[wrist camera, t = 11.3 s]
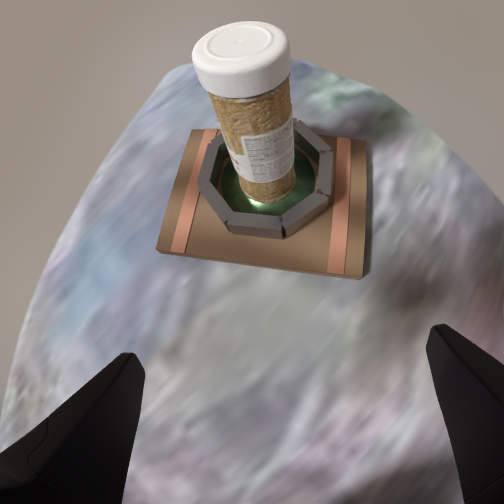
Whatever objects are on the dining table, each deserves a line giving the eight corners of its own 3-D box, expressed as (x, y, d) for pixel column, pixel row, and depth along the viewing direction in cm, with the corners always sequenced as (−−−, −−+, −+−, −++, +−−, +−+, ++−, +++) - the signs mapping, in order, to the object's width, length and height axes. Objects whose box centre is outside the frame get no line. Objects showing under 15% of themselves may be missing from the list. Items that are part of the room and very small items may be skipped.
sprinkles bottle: (235, 165, 25) (186, 32, 12) (288, 152, 24) (274, 11, 12) (246, 212, 23) (192, 80, 11) (304, 198, 23) (303, 55, 10)
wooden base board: (359, 279, 22) (362, 276, 21) (160, 252, 25) (155, 249, 24) (364, 147, 25) (366, 140, 24) (194, 135, 28) (191, 128, 27)
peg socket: (324, 245, 22) (326, 236, 20) (194, 229, 24) (186, 220, 22) (332, 136, 24) (334, 122, 22) (221, 129, 26) (216, 115, 24)
